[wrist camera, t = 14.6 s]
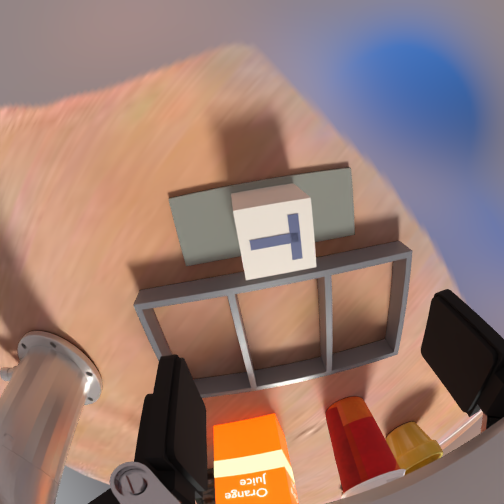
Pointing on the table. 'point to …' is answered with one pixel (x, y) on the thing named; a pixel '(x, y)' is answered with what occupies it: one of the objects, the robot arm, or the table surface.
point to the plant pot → (412, 447)
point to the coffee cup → (359, 447)
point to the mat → (219, 199)
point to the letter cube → (274, 230)
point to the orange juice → (252, 463)
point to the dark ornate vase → (208, 490)
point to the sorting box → (327, 361)
